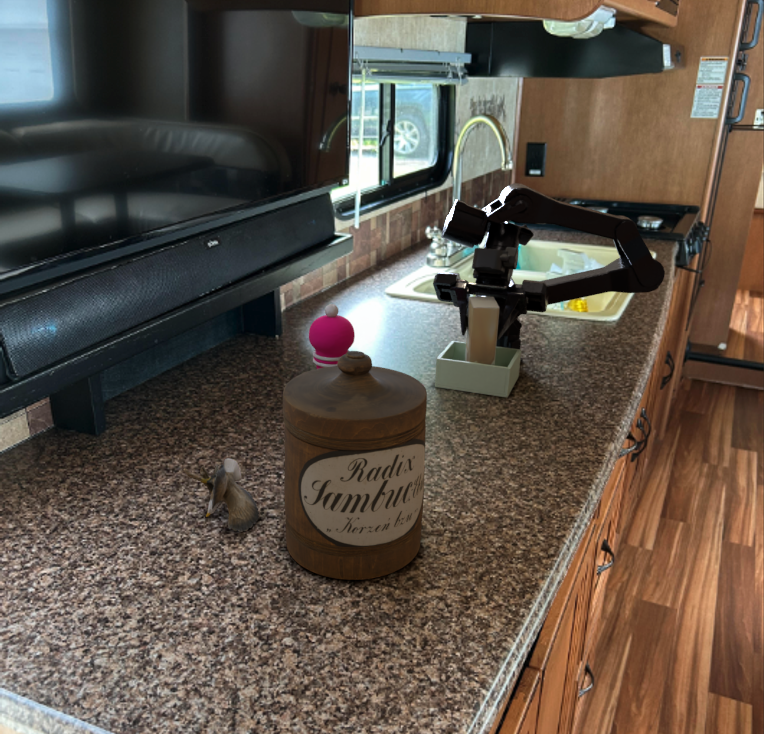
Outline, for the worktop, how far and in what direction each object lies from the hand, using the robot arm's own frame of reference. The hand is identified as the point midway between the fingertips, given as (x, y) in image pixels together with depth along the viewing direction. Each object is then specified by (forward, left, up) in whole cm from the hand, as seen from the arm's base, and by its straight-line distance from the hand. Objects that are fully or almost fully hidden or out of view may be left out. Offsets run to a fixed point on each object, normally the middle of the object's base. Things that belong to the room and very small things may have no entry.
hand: (479, 336), depth 126 cm
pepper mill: (+3, -33, -9) cm, 34 cm away
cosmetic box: (-1, +1, -7) cm, 7 cm away
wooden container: (+24, -46, -9) cm, 53 cm away
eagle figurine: (+10, -54, -9) cm, 56 cm away
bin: (-1, +1, -8) cm, 9 cm away
